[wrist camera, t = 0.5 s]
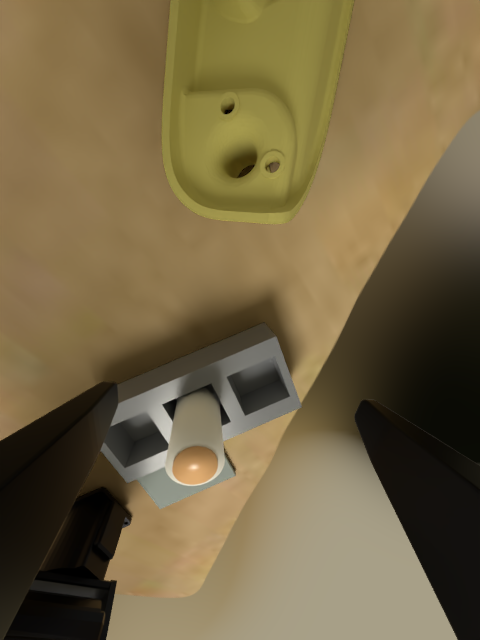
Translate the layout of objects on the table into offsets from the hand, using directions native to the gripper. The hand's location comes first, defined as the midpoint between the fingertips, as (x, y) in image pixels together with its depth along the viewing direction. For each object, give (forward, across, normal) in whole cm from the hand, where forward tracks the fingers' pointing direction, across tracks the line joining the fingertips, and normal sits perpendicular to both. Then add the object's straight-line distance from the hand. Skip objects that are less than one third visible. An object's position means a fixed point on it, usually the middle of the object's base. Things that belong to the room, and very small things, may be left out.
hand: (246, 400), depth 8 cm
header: (+13, +2, +11) cm, 17 cm away
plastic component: (+17, +1, -15) cm, 22 cm away
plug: (+12, +2, +10) cm, 16 cm away
